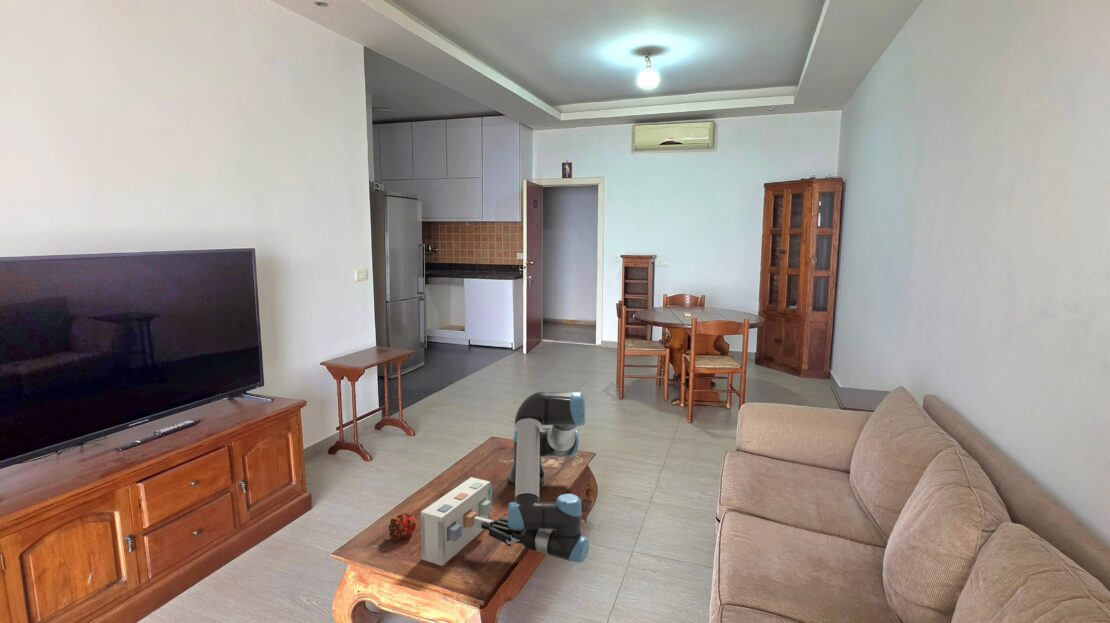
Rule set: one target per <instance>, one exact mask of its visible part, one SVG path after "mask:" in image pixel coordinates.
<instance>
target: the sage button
mask: <svg viewBox="0 0 1110 623" xmlns="http://www.w3.org/2000/svg"><path fill="white" fill-rule="evenodd" d="M489 512H490V513H491V512H492V500H491V501H489V500H485V499H483V500H482V501H480V502H479V514H482V515H487V514H488V513H489Z"/></svg>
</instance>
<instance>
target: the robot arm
mask: <svg viewBox="0 0 1110 623" xmlns="http://www.w3.org/2000/svg"><path fill="white" fill-rule="evenodd" d="M585 404H586V402H585V394H584V393H583V392H581V391H537V392H534V393H532V394H530V395H529V396H528V397H526V398H525V399H524V400H523V402H522V403H521V404H520V406H519V407H518V409H517V411H516V415H515V416H514V417H515V418H514V431H513V439H512V440H513V463H512V465H511V468H510V471H509V474H508V475H509V476H508V477H509V478H508V479H509V482H510V483H511V484H512V485H514V486H515V489H514V490H515V491H514V492H515V493H514V501H511V502H508V506H507V508H508V509H507V518H505V517H499V518H498V519H495V520H493V519H491V518H490V519H486V518H482V517H478V516H476V517H475V518H474V526H476V527H480V528H482V529H484V530H486V531H488V536H490V537H492V538H493V539H495V540H498V541H499V542H502V543H504V544H506V545H507V547H511V546H512V544H513V543H515V544H521V545H523V546H524V547H525V549H526V550H527V549H528V550H530V551H534V552H536V551H537V552H538V553H543V554H546V555H549V556H551V557H555V558H559V559H562V560H565V561H568V562H571V563H572V562H573V563H579V564H581V563H583V562H585V560H586V559H587V556H588V554H589V550H590V549H589V548H590V542H589V539H588V537H586V536H583V535H582V530H581V529H582V527H581V526H582V500H581V498H580V497H579V496H578V495H576V494H573V493H564V494H560V495H558V496H557V498H556V501H555V502H554V501H553V502H552V501H551V502H549V501H544V502H541V501H540V485H542V484H543V483H544V482H545V481H546V473H545V470H544V466H543V463H542V457H567V458H570V457H575V456H576V455H577V453H578V450H579V449H578V448H579V442H580V441H579V432H578V430H577V427H582V426H584V425H585V424H586V405H585ZM544 426H551V427H544Z"/></svg>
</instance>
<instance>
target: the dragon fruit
mask: <svg viewBox="0 0 1110 623" xmlns="http://www.w3.org/2000/svg"><path fill="white" fill-rule="evenodd" d="M416 527H417V523H416V517H415V515H413V514H409V513H408V512H405V513H402V514H398V515H397V516H396V518H391V519H390V523H389V525H388V532H389V533H388V534H389V536H390V537H394V540H399V541H400V540H401V541H402V539H403V538H404V539H407V538H408V539H410V538H411V537H412V536H411V534H412V533H413V532H414V531H415V530H416Z"/></svg>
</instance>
